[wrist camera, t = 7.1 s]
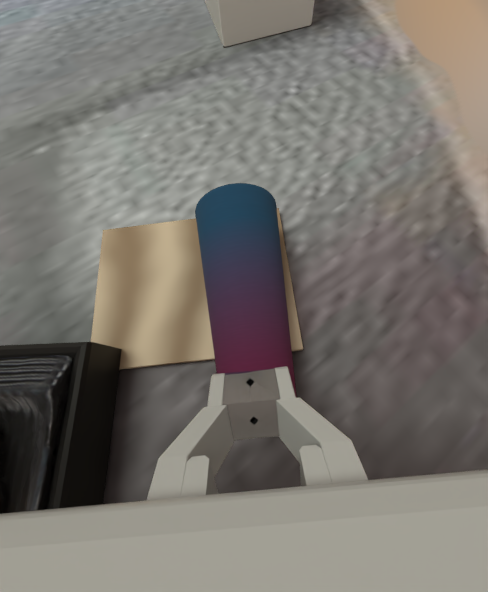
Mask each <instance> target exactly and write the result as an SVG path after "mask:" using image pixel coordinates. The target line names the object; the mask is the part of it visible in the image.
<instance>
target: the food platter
mask: <svg viewBox="0 0 488 592" xmlns="http://www.w3.org/2000/svg"><path fill="white" fill-rule="evenodd" d="M121 351H122V349H120V348H115V347H111V346H107V345H103V344H99V343H95V342H78V343H54V344H30V345H5V346H0V514H3V513H14V512H25V511H36V510H47V509H58V508H68V507H79V506H90V505H101V504H103V498H104V490H105V481H106V473H107V465H108V457H109V449H110V441H111V433H112V424H113V416H114V408H115V400H116V392H117V384H118V376H119V368H120V359H121Z"/></svg>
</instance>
